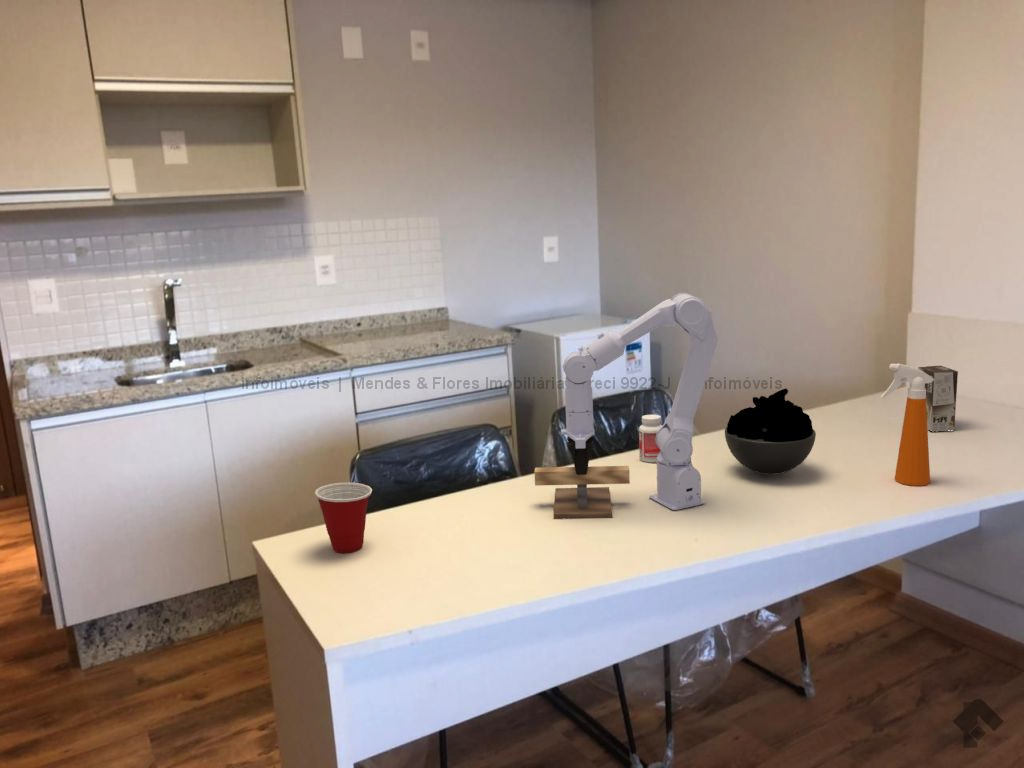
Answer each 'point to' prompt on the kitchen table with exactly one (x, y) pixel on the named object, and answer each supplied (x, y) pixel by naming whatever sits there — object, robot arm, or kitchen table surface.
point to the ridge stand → (582, 502)
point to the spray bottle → (912, 427)
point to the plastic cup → (344, 514)
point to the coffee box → (940, 397)
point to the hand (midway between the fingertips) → (581, 471)
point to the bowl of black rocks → (770, 435)
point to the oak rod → (592, 477)
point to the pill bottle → (649, 438)
